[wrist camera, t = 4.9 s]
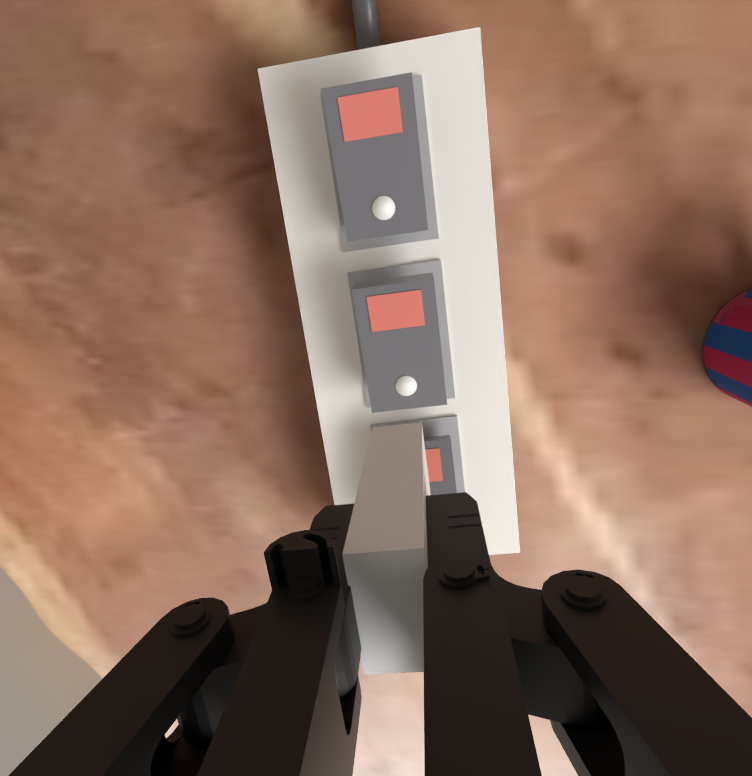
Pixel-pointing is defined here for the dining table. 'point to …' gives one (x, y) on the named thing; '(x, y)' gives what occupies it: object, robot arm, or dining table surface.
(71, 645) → the dining table surface
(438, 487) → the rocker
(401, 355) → the rocker mid
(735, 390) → the mug
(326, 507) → the robot arm
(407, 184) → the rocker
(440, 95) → the strip
